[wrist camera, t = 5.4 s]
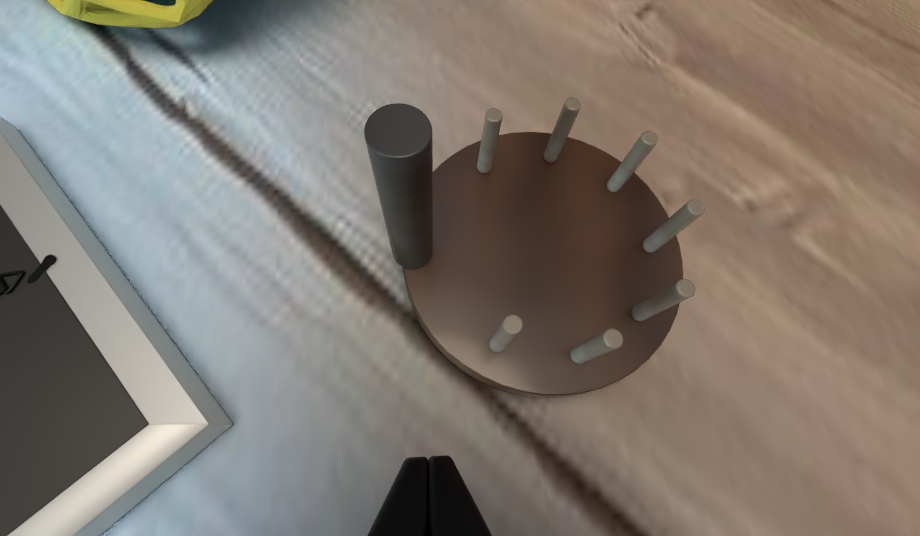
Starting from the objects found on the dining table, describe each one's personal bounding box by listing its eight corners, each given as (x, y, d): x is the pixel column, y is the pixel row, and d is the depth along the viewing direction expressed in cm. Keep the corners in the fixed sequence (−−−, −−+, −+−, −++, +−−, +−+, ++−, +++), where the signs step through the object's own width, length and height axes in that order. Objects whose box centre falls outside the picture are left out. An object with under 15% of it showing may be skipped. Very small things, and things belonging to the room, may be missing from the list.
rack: (638, 149, 24) (770, -28, 14) (694, 391, 19) (937, 359, 10) (396, 149, 23) (370, -40, 13) (394, 404, 18) (353, 383, 9)
